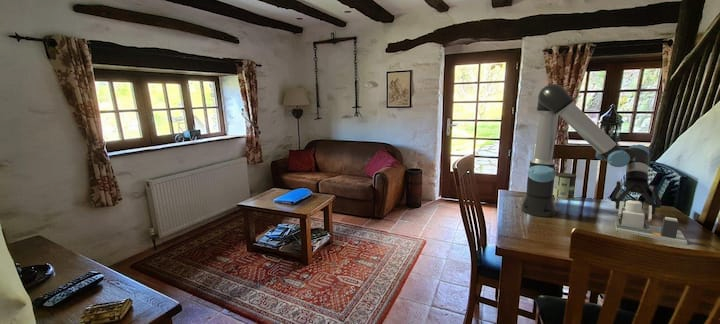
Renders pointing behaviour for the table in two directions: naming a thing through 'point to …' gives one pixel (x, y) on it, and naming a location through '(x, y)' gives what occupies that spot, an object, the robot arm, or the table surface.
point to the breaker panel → (649, 232)
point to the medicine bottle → (632, 213)
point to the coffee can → (564, 186)
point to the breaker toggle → (669, 227)
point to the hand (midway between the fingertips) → (634, 217)
